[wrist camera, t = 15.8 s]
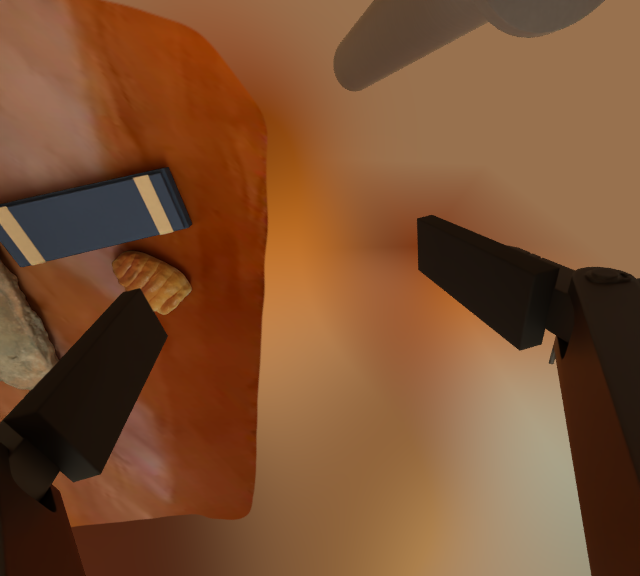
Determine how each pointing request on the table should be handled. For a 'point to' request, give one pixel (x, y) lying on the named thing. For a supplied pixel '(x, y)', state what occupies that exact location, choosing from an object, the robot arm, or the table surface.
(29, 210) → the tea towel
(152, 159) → the table surface
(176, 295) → the pastry
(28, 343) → the long grey stone
